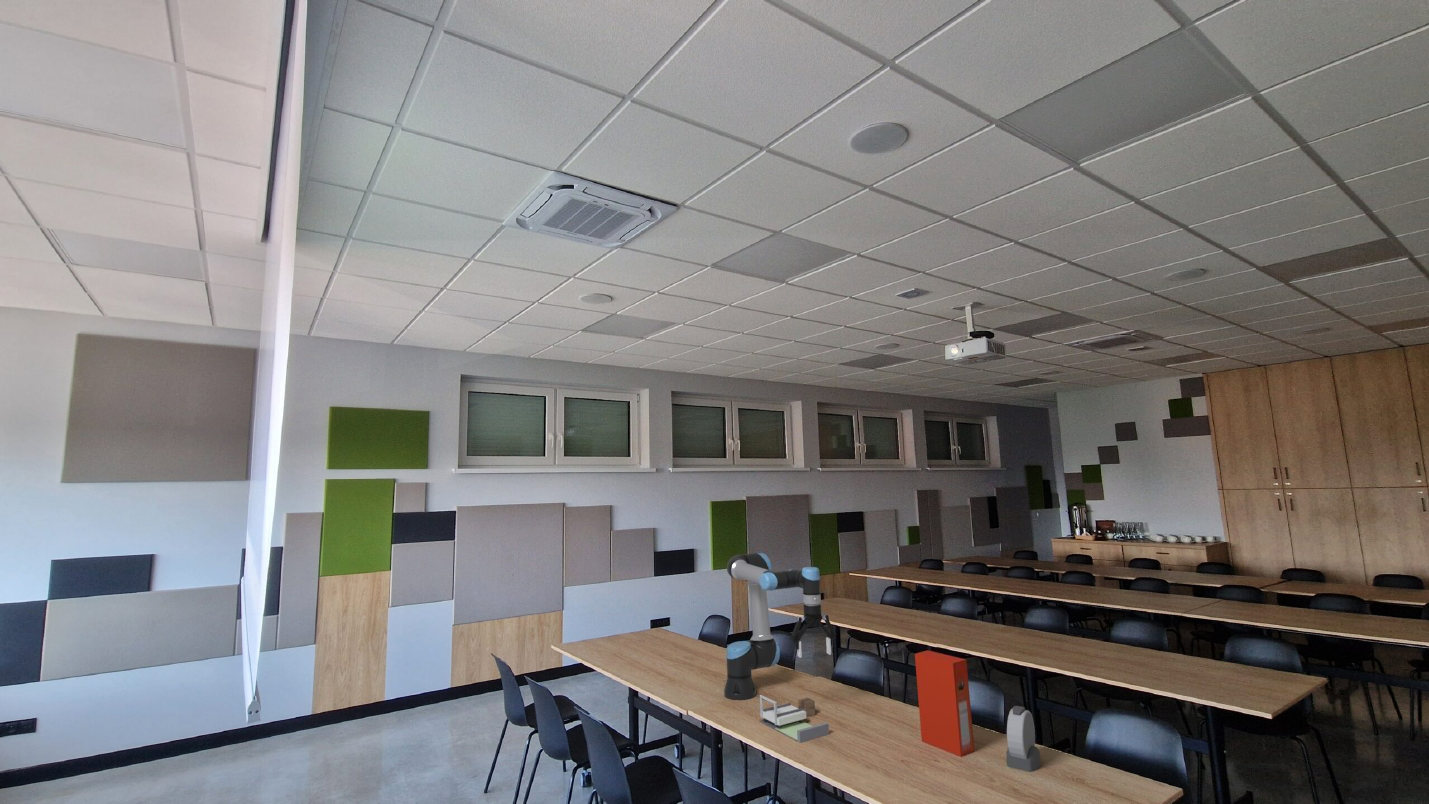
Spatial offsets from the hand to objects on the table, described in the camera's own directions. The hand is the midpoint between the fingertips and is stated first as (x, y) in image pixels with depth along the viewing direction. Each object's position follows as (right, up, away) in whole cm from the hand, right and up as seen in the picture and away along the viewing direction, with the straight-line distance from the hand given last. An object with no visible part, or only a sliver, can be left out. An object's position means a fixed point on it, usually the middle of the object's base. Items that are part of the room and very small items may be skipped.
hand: (814, 655), depth 267 cm
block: (-3, -26, +1) cm, 26 cm away
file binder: (+44, -19, -36) cm, 60 cm away
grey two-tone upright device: (+64, -17, -51) cm, 84 cm away
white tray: (-14, -25, -8) cm, 30 cm away
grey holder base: (-11, -24, -13) cm, 29 cm away
